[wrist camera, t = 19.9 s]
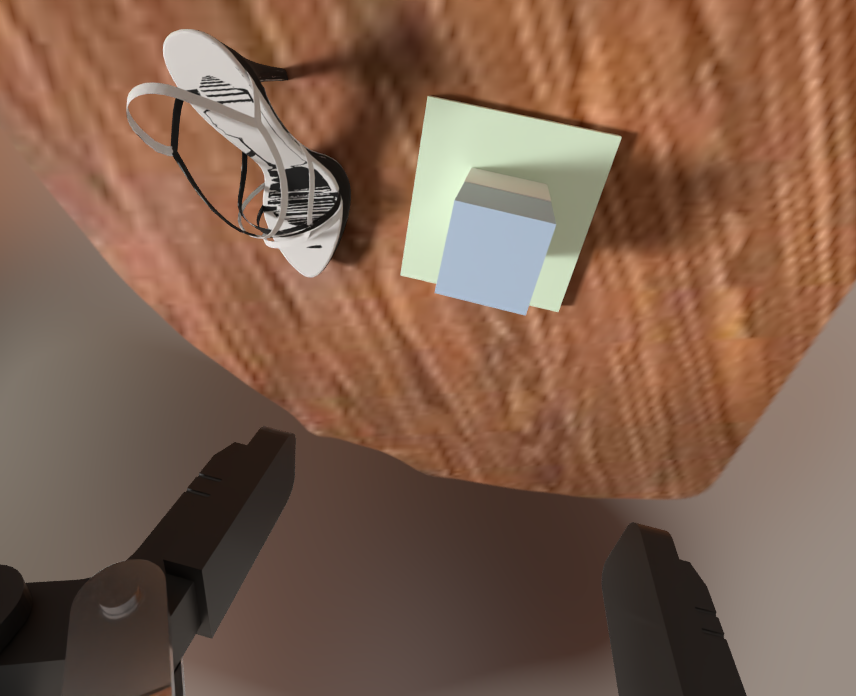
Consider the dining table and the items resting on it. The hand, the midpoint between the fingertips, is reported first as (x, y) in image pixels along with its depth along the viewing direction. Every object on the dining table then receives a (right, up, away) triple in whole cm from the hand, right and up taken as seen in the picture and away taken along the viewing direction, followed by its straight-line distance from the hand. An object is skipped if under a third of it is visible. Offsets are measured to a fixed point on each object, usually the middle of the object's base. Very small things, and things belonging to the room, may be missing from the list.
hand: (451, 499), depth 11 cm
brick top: (+4, +11, +19) cm, 22 cm away
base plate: (+5, +14, +24) cm, 28 cm away
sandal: (-10, +18, +25) cm, 32 cm away
